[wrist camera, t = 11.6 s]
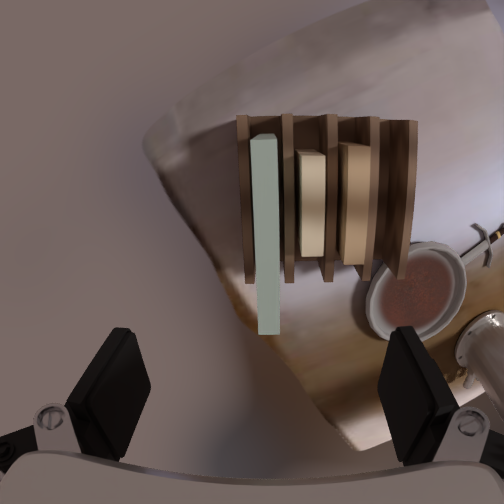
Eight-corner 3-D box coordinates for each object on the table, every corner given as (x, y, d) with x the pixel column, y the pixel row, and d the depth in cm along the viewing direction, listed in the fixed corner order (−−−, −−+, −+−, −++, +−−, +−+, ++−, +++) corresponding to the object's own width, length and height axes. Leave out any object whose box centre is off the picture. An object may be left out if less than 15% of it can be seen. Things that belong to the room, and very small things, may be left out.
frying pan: (522, 269, 38) (392, 364, 45) (513, 262, 41) (386, 353, 48) (501, 179, 34) (346, 289, 40) (490, 176, 36) (341, 279, 43)
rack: (386, 255, 41) (404, 279, 35) (249, 258, 42) (245, 283, 36) (394, 120, 34) (417, 121, 28) (242, 117, 35) (236, 115, 29)
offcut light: (313, 230, 39) (323, 256, 32) (296, 231, 39) (301, 256, 32) (314, 149, 36) (325, 155, 28) (295, 149, 36) (301, 155, 28)
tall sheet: (276, 247, 40) (279, 334, 24) (264, 247, 40) (258, 334, 24) (273, 133, 35) (276, 139, 18) (259, 133, 35) (250, 140, 19)
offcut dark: (347, 238, 39) (364, 264, 32) (330, 238, 40) (343, 264, 32) (350, 141, 35) (370, 146, 27) (332, 141, 35) (348, 145, 28)
